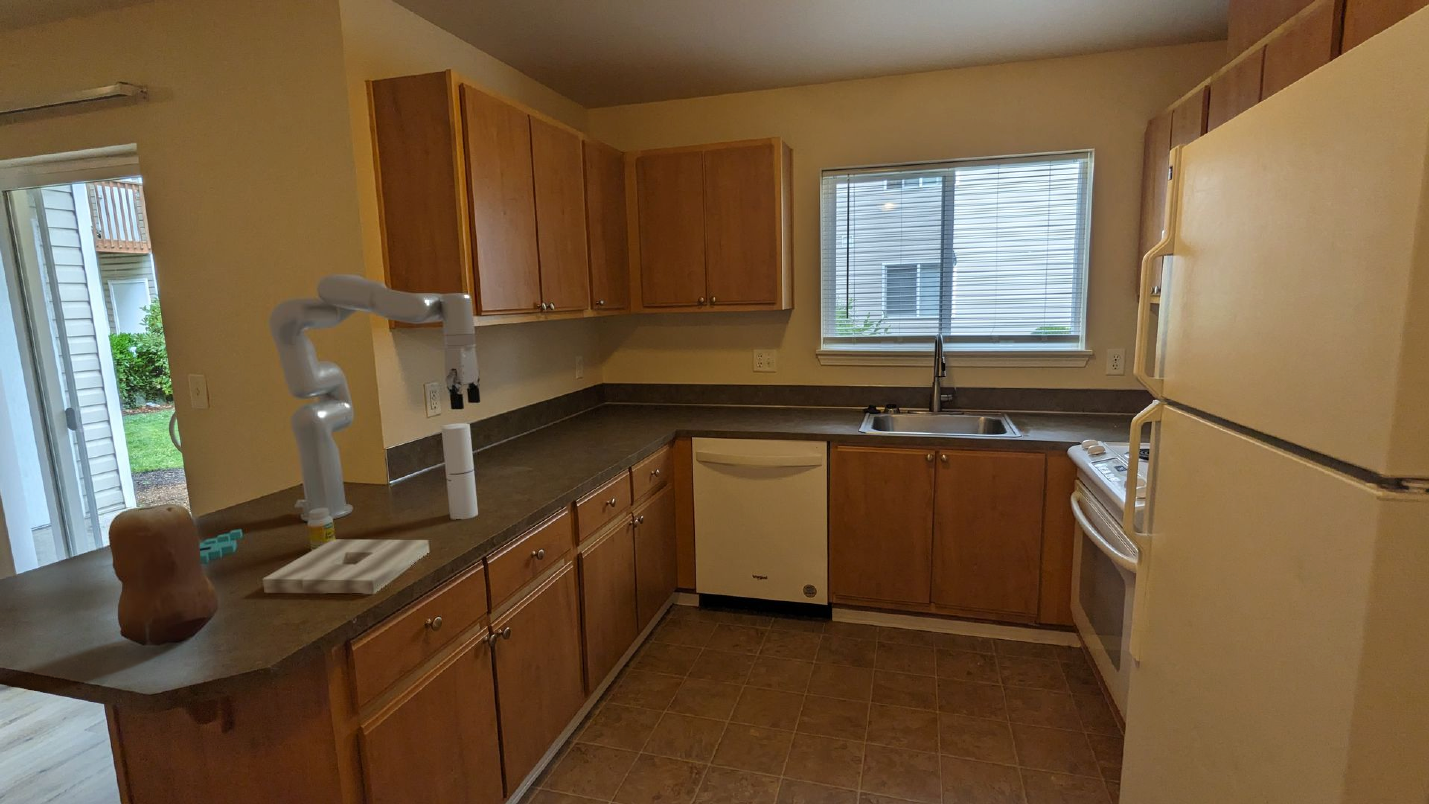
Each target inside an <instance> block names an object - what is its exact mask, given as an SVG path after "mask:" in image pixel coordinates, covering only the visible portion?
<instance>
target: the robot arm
mask: <svg viewBox="0 0 1429 804" xmlns="http://www.w3.org/2000/svg"><path fill="white" fill-rule="evenodd" d="M316 292H317V295H318V297H295V298H290V299H286V300H284V301H283V300H282V301H280V303H278V304H277V305H275V307H274V308H273V310H272V311H271V312H270V316H269V320H268V325H269V330H270V331H269V332H270V335H271V337H272V339H273V342H274V344H275V347H276V349H277V350H276V351H277V353H278V357H279V361H280V365H281V369H282V372H283V377H284V380H285V383H286V387H287V389H288V392H289V394H290V395H291V396H292V397H293V398H296V399H299V400H309V399H314V398H317V399H318V401H316V402H312V403H307V404H305V405H301V406H300V407H298V408H297V409H296V410H295V411H294V412H292V415H291V417H290V428H291V430H292V435H293V437H294V439H295V443H296V445H297V446H296V447H297V450H298V451H297V452H298V456H299V457H298V458H299V464H300V470H301V471H300V472H301V479H302V483H303V492H304V493H303V494H304V499H297V500H296V503H295V504H294V508H295V509H296V510H297V509H302V513H301V514H300V517H301V518H300V519H301V520H302V521H304V522H308V521H309V520H310V519H311V518H310V515H309V512H310V511H311V510H314V509H318V508H328V510H329V515H328V516H330V517H332V518H333V520H335V519H338V518H343V517H344V516H345V517H346V516H347V515H349V514H350V513H352V512H353V509H354V508H353V505H351V504H349V503H346V496H345V495H346V494H345V485H344V480H343V470H342V464H341V455H340V450H339V446H338V445H337V443H336V441H335V440H334V438H333V436H332V434H336V433H338V432H341V431H344V430H346V429H348V428H349V427H350V426H351V425H352V423H353V421H354V418H355V411H354V405H353V401H352V397H351V393H350V389H349V386H348V381H347V378H346V375H345V373H344V372H343V370H342V368H341V367H340V366H339V365H337V364H336V363H334V362H331V361H328V360H322V361H321V360H320V361H319V359H318V356H317V353H316V348H315V345H314V344H313V342H312V340H311V338H310V337H308V336H307V334H306V331H310V330H320V329H321V330H322V329H330V328H333V327H336V326H338V325H339V324H341V323H343V322H344V321H346V319H348V318H349V317H351V316H352V315H354V314H355V313H357V312H363V313H366V314H367V313H368V314H373V315H376V316H377V317H381V318H383V319H388V320H392V321H398V322H401V323H409V324H415V325H418V324H428V323H437V322H442V326H443V327H442V328H443V337H444V345H445V346H444V347H445V349H444V374H445V375H444V376H445V377H444V378H445V385H446V388H447V390H448V395H449V398H450V399H449V401H450V409H451V410H464V409H465V404H464V394H463V393H462V390H463V386H467V388H466V393H467V403H468V404H479V403H480V402H481V395H480V394H481V393H480V380H481V378H480V376H481V375H480V374H481V370H479V365H478V357H477V352H476V348H475V347H476V346H477V343H476V341H477V340H476V332H475V331H476V330H475V321H474V310H473V309H474V308H473V299H472V296H471V294H469V293H462V292H461V293H460V292H455V293H452V292H451V293H445V294H443V293H435V292H433V293H432V292H431V293H427V292H425V293H423V292H422V293H421V292H419V293H412V292H406V291H399V290H395V289H390V288H388V287H387V286H386V284H385V283H383V282H381V281H377V280H376V281H375V280H371V279H365V278H364V277H362V276H361V275H357V274H346V273H345V274H343V273H336V274H335V273H333V274H328V275H326V276H324V277H322V278H321V279H320V280H319V282H318V283H317V285H316Z"/></svg>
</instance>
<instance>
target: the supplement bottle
mask: <svg viewBox="0 0 1429 804" xmlns="http://www.w3.org/2000/svg"><path fill="white" fill-rule="evenodd" d="M309 515H310V518H311V519H310V520H309V521H307V529H308V538H309V543H310V549H311V551H313V550H315V549H316V548H318V547H320V546H322V545H323V544H325V543H327V542H329V541H330V540H332V539H336V531H335V525H334V519H333V518H332V517H330V516H328V515H329V510H328V508H318V509H314V510H311V511H310V512H309Z"/></svg>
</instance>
